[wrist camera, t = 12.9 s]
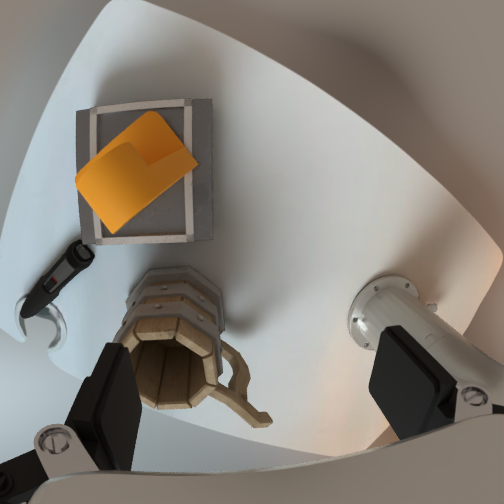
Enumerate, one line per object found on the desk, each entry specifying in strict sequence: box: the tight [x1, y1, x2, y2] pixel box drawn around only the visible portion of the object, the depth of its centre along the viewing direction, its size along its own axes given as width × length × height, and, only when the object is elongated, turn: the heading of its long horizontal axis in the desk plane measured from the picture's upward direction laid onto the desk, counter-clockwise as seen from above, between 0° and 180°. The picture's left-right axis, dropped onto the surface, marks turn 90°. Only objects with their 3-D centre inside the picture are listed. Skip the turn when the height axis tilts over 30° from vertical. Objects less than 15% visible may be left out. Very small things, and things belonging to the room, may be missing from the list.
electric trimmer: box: [20, 239, 95, 319], centre depth 38 cm, size 4×16×3 cm, turn 126°
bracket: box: [75, 111, 199, 234], centre depth 26 cm, size 11×7×12 cm, turn 126°
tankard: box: [112, 266, 273, 428], centre depth 37 cm, size 20×13×15 cm, turn 48°
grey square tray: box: [76, 99, 213, 245], centre depth 34 cm, size 15×15×6 cm
